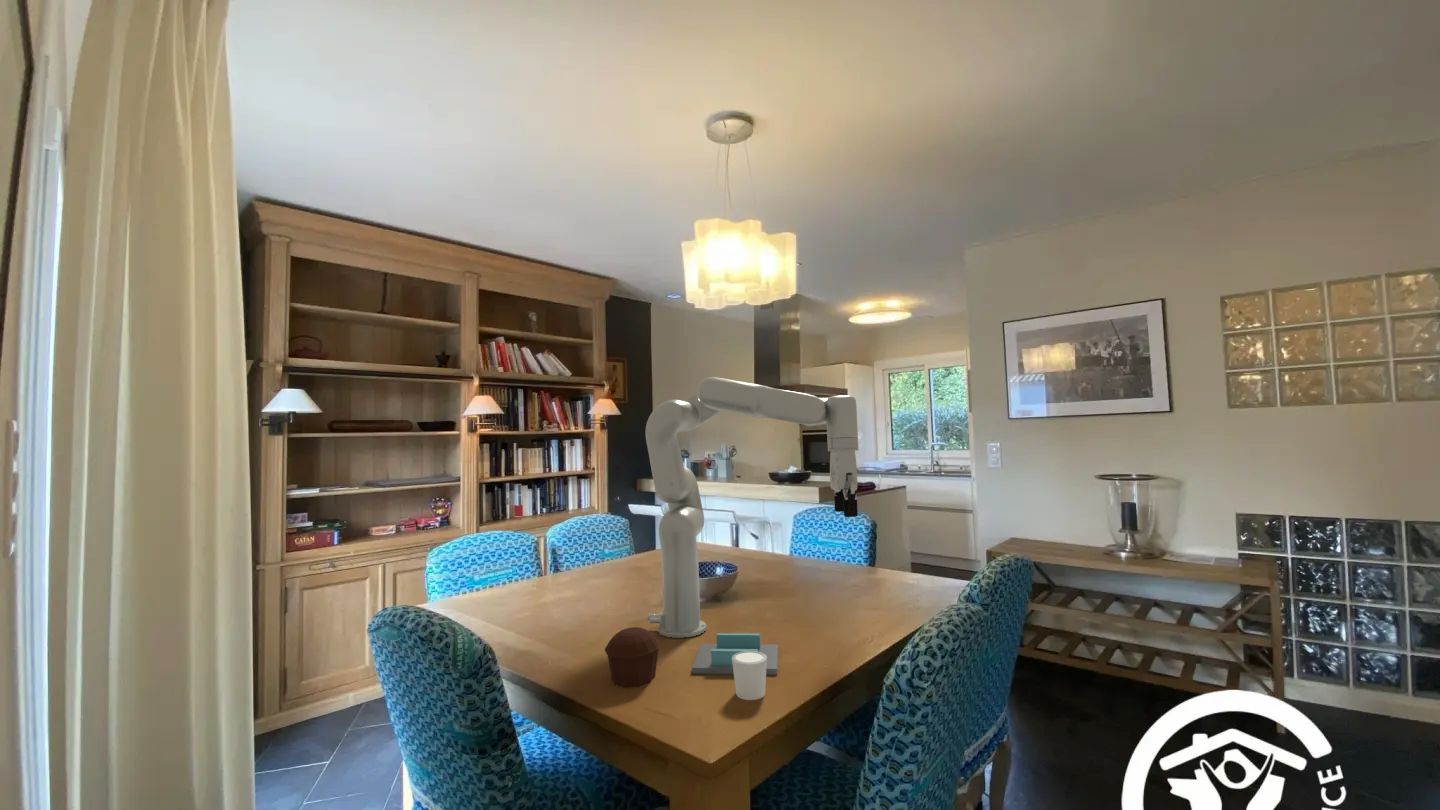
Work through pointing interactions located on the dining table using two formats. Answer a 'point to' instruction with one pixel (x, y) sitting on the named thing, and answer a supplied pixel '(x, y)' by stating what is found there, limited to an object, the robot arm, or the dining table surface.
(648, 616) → the robot arm
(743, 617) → the dining table surface
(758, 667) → the white cylinder
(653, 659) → the muffin
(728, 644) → the clip holder
